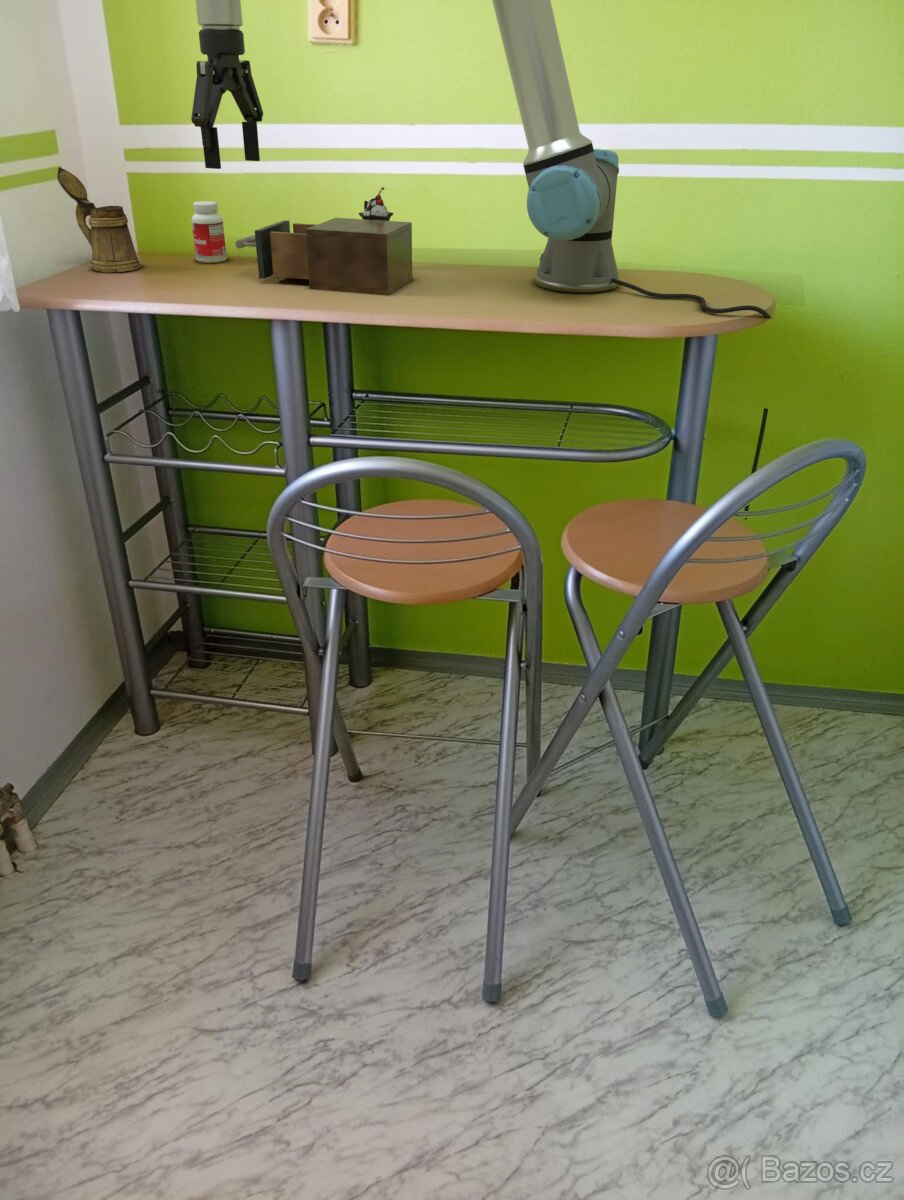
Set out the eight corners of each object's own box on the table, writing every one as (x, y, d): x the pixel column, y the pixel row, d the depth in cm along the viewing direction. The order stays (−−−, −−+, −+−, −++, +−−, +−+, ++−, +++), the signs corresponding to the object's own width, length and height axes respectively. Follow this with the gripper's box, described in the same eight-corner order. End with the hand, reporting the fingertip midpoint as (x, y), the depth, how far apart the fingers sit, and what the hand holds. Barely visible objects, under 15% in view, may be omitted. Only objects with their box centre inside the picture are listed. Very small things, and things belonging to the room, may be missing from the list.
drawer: (230, 276, 177) (225, 228, 172) (260, 263, 187) (256, 218, 182) (329, 284, 172) (326, 235, 168) (354, 270, 182) (352, 224, 177)
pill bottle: (191, 260, 194) (183, 202, 188) (218, 256, 197) (212, 199, 192) (205, 264, 190) (197, 205, 184) (232, 261, 193) (226, 203, 188)
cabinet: (309, 288, 173) (305, 228, 167) (338, 274, 184) (335, 217, 178) (388, 295, 169) (386, 234, 164) (412, 279, 180) (411, 222, 175)
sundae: (393, 271, 186) (391, 188, 179) (359, 270, 186) (355, 188, 179) (395, 264, 192) (393, 184, 184) (362, 264, 192) (359, 183, 185)
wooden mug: (88, 261, 192) (71, 164, 183) (148, 265, 189) (134, 166, 180) (63, 270, 185) (43, 169, 175) (125, 274, 182) (108, 172, 173)
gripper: (239, 29, 173) (250, 156, 184) (158, 27, 153) (176, 170, 163) (275, 29, 171) (284, 158, 181) (199, 27, 150) (214, 173, 161)
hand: (233, 164), depth 172 cm, fingers open, 13 cm apart
